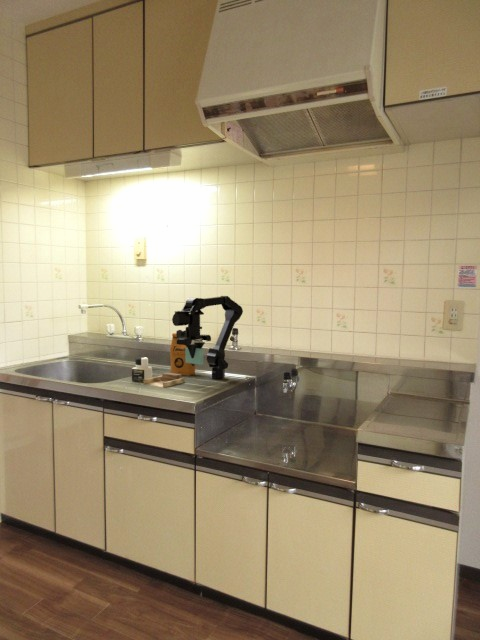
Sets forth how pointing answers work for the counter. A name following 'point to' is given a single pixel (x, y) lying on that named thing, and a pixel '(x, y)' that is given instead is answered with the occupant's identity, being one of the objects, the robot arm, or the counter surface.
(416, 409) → the counter surface
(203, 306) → the robot arm
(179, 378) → the offcut low
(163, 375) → the offcut top
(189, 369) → the coffee package
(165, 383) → the wooden tray
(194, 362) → the teal rectangular block
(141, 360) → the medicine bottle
